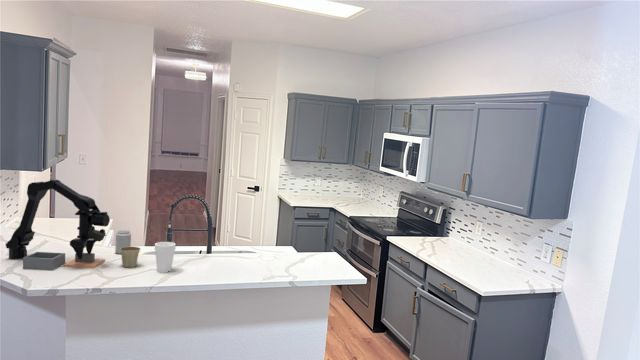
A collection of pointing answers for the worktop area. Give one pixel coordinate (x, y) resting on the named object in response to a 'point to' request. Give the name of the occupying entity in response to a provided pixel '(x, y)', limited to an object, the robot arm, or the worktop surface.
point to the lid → (85, 261)
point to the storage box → (43, 261)
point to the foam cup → (164, 255)
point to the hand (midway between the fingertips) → (84, 256)
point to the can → (122, 240)
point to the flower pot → (129, 256)
